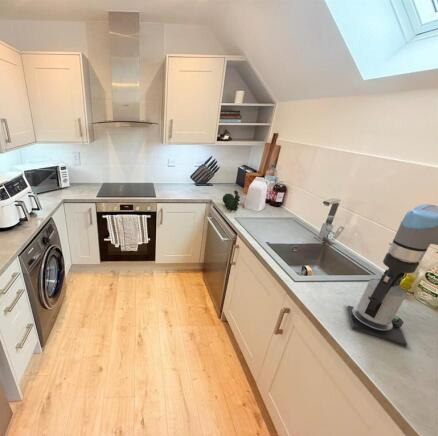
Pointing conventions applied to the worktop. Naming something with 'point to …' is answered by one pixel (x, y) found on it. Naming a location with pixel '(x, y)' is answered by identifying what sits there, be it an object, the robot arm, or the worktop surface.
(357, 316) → the pan
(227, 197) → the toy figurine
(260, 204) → the milk
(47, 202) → the worktop surface
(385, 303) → the silver metal canister
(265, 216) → the worktop surface
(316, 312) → the worktop surface
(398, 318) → the tare button
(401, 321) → the scale
